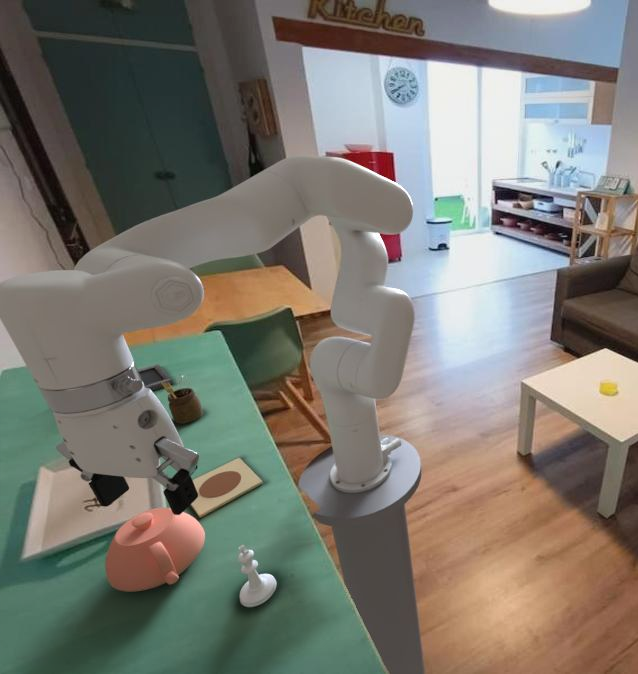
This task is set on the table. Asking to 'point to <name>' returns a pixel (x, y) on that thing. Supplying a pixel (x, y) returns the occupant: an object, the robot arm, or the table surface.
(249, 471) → the beige square coaster
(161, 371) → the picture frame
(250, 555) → the chess piece
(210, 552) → the table surface
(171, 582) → the sugar bowl
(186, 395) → the utensil holder
